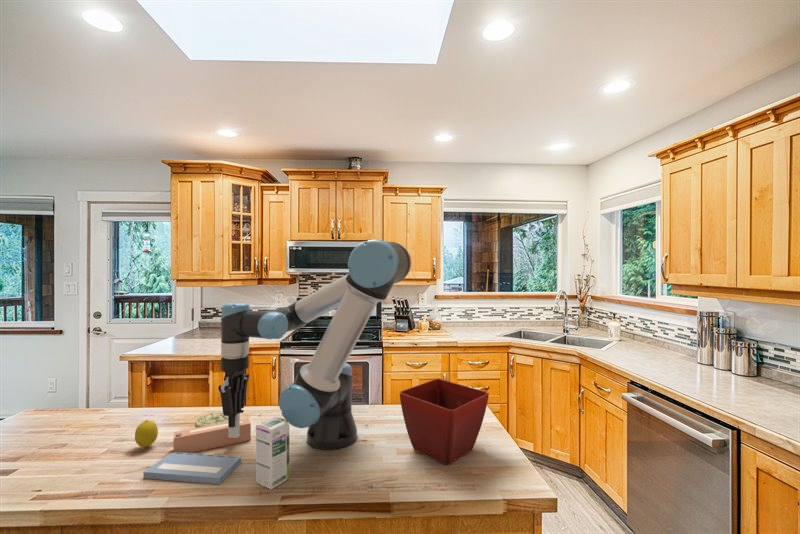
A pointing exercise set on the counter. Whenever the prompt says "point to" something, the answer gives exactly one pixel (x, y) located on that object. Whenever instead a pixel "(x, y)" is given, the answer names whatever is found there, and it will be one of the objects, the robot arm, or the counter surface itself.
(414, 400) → the plant pot
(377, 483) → the counter surface
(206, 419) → the decorated donut
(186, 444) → the pink rectangular bar
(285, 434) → the syrup box
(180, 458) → the board
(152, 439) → the lemon
